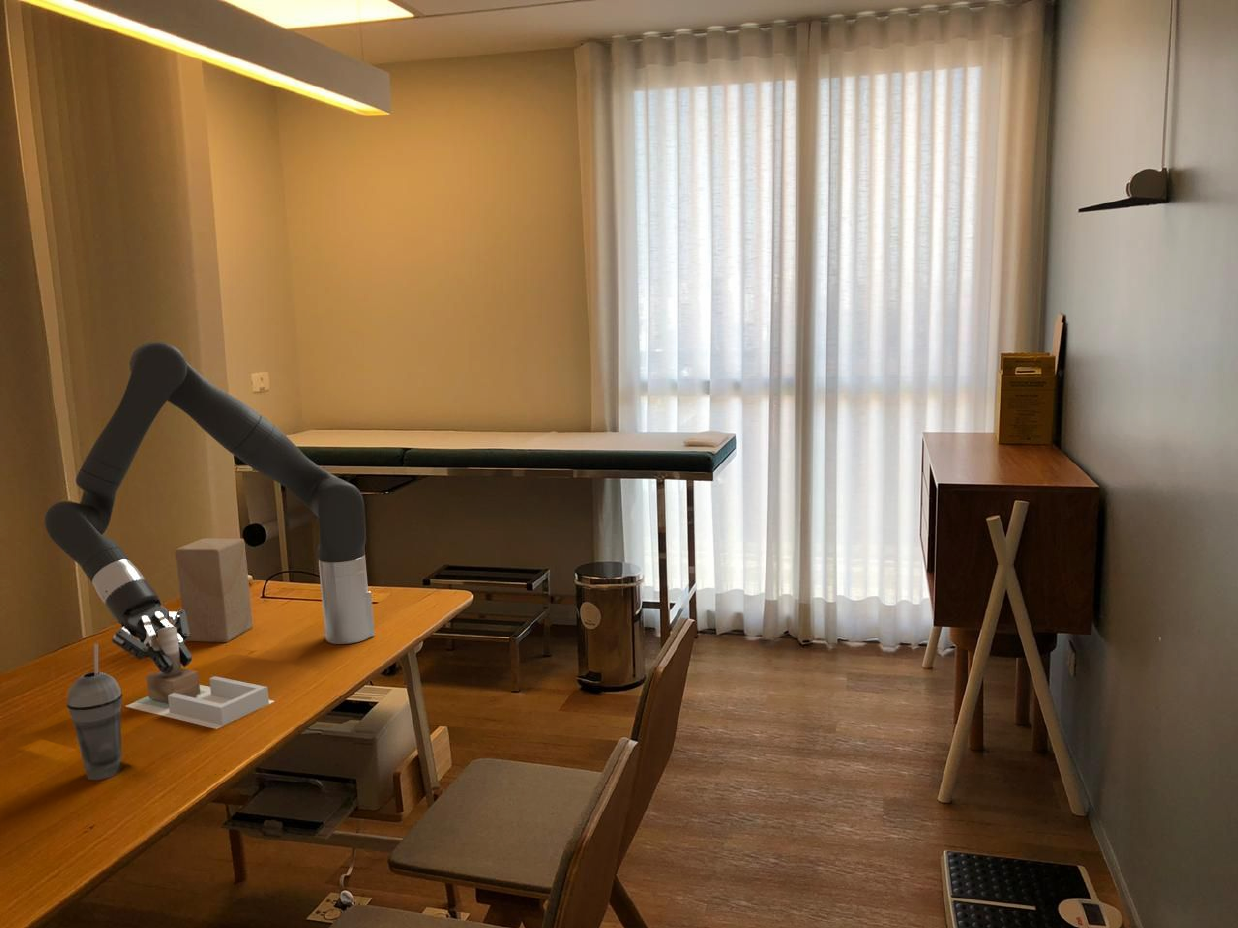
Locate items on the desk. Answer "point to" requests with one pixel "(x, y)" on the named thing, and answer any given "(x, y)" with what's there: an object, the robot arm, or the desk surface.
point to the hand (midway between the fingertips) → (179, 666)
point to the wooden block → (214, 589)
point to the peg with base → (172, 671)
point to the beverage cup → (97, 721)
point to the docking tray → (210, 703)
